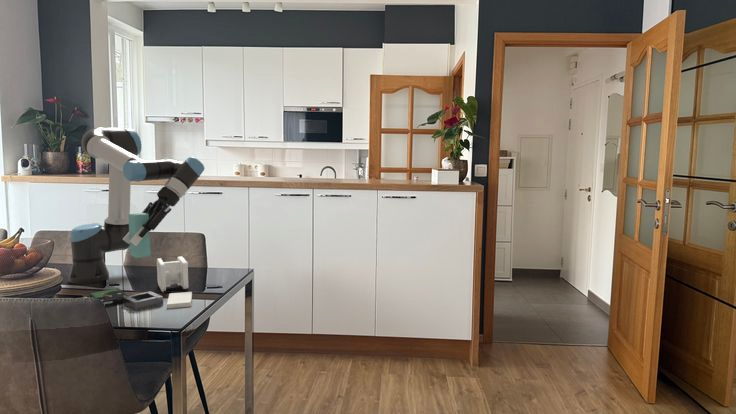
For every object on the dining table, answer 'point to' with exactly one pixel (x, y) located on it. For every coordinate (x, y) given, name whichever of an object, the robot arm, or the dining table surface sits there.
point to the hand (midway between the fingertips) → (129, 242)
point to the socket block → (142, 300)
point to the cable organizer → (172, 273)
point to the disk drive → (110, 296)
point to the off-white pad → (179, 300)
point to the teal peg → (134, 226)
